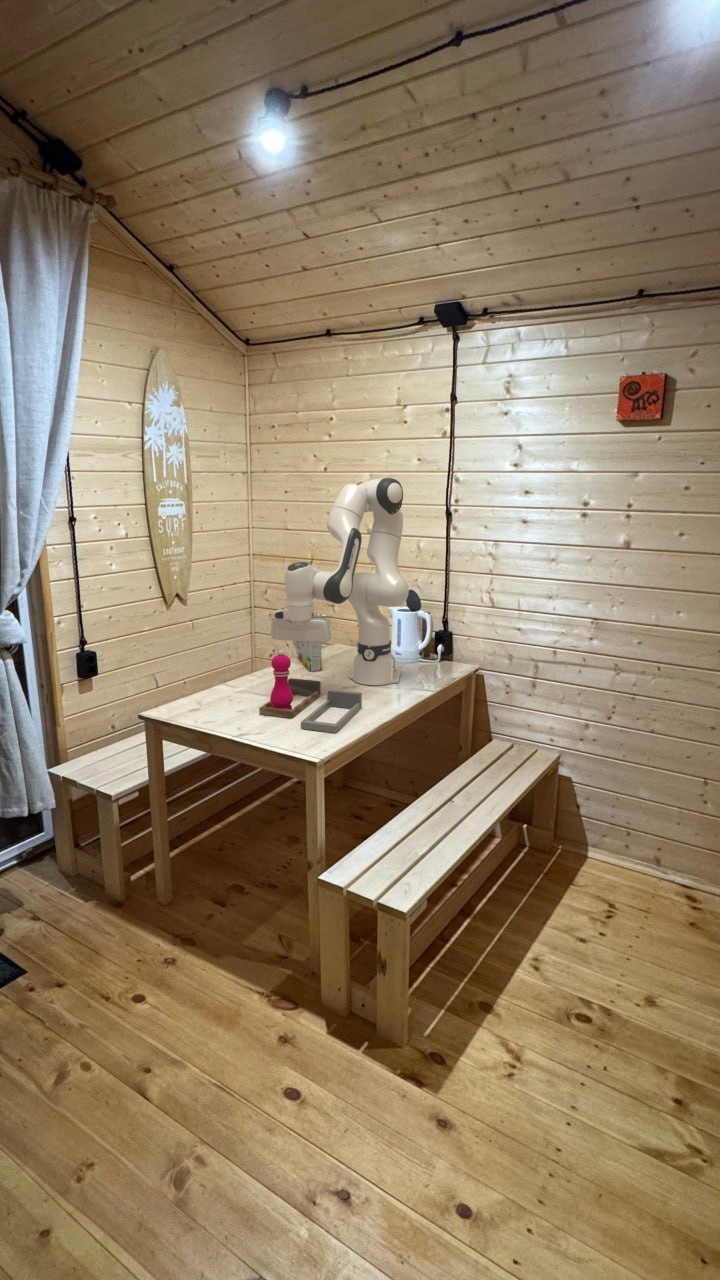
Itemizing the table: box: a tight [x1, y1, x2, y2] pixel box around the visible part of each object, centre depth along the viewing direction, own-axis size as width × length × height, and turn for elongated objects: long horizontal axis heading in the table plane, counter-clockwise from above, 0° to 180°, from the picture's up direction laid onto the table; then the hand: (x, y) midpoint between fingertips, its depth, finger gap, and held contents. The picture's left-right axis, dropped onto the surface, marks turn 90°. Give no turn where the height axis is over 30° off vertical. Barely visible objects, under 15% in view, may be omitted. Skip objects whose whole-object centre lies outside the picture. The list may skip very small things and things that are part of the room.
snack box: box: [297, 641, 323, 673], centre depth 271 cm, size 21×6×15 cm, turn 17°
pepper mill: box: [269, 649, 294, 710], centre depth 216 cm, size 7×7×20 cm
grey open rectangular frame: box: [300, 688, 363, 734], centre depth 212 cm, size 24×11×5 cm, turn 162°
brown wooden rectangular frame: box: [258, 677, 322, 719], centre depth 224 cm, size 24×11×5 cm, turn 162°
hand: (301, 653), depth 228 cm, fingers closed
